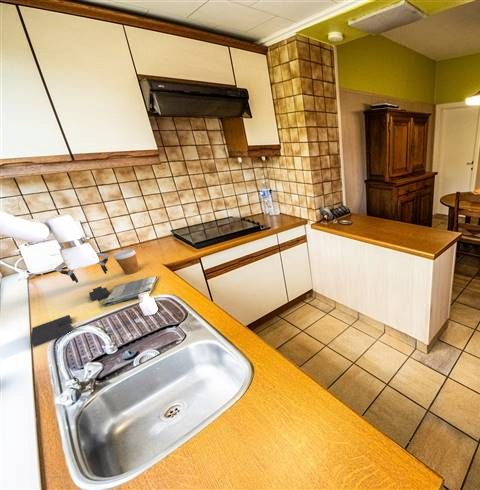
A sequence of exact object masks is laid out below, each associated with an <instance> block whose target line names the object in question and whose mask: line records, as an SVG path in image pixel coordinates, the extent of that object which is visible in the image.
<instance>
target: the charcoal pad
mask: <svg viewBox="0 0 480 490" xmlns="http://www.w3.org/2000/svg"><path fill="white" fill-rule="evenodd" d="M72 325H73V318H72V317H71V315H70V314H67V315H65V316H62V317H59V318H56V319H53V320H49V321H47V322H44V323H42V324H39V325H36V326H33V327H32V328H31V337H30V344H31V345H32V346H33V348H35V347H39V346H41V345H43V344H46V343H48V342H51V341H54V340H57V339H58V338H61V337H64V336H66V334H67V333H69V332H71V331H72V330H73V331H74V327H73V326H72ZM69 334H70V333H69ZM67 335H68V334H67Z"/></svg>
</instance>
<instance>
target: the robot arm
mask: <svg viewBox="0 0 480 490" xmlns="http://www.w3.org/2000/svg"><path fill="white" fill-rule="evenodd" d="M50 234H52V235H53V237H54V238H55V240H56V242H57V244H58V245H59V247H60V248H59V253H60V256H61V258H62V260H63V262H61V263H60V264H59V265H58V266H56V267H55V268H54V271H56V272H58V273H60V274H61V275H66V276H69V278H70V279H71V281H72V282H74V283H76V284H78V283H79V279H78V277H77V276H76V274H75V273H74V272H75V271H76V270H80V269H83V268H87V267H90V266H94V265H100V267H101V270H102V271H103V274H104V275H107V274H108V273H107V272H108V268H107V266H106V264H107V263H108V261H109V258H110V257H109V256H110V254H109V253H105V252H104V253H102V252H100V253H99V252H96V251H95V249H94V247H93V246H92V244H90V242H89V240H90V238H89V237H88V236H83V235H82V233H81V231H80V229H79V227H78V226H77V223H76V222H75V220H74V218H73V216H72V215H70V214H69V213H68V214H67V213H63V214H57V215H52V216H49V217H39V218H30V219H29V218H28V219H23V218H21V217H18V216H15V215H12V214H9V213H6V212H4V211H2V210H0V235H2V236H5V237H9V238H12V239H15V240H16V239H17V240H21V241H24V242H29V243H39V242H41V241H45V240H46V239H47V238H48V237H49V235H50ZM100 257H102V258H103V257H104V258H103V259H102V260H100ZM64 267H66V268H67V269H68V270H65V269H63V268H64Z"/></svg>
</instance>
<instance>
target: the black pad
mask: <svg viewBox="0 0 480 490" xmlns="http://www.w3.org/2000/svg"><path fill="white" fill-rule="evenodd" d="M88 295H89V298H90V300H91V302H95V301H98V302H99V301H102V300H106V299H107V298H108V296H109V295H110V293H109V290H108V288H107V287H102V286H98V287H95V288H92V291H90V292H88Z"/></svg>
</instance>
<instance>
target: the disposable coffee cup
mask: <svg viewBox="0 0 480 490" xmlns="http://www.w3.org/2000/svg"><path fill="white" fill-rule="evenodd" d="M136 254H137V253H136V250H135V249H132V248H126V249H122V250H119V251H117V252H116V251H115V252H114V254H113V256H112V258H113V259H114V260H115V261H116V262H117V264H118V266H119V267H120V268H121V269H122V271H123V272H124V274H125V275H132V274H137V272H140V265H139V262H138V258H137V255H136Z"/></svg>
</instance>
